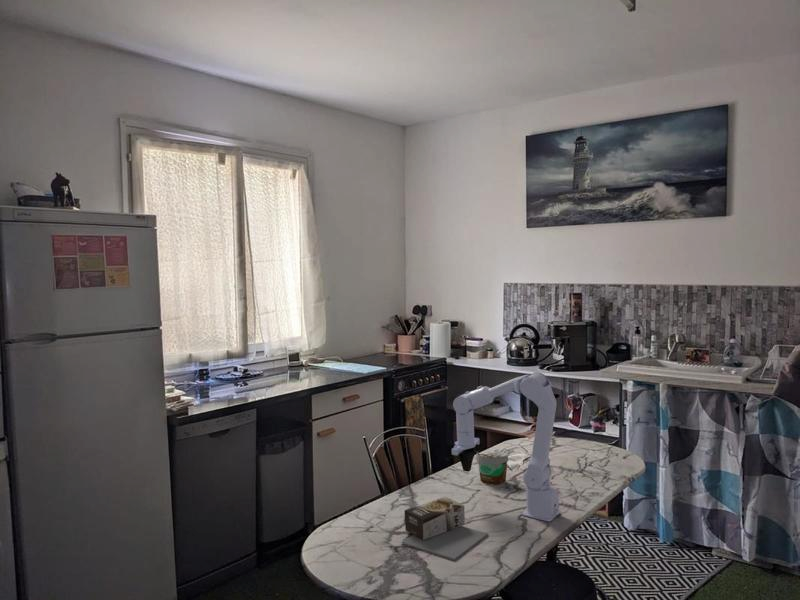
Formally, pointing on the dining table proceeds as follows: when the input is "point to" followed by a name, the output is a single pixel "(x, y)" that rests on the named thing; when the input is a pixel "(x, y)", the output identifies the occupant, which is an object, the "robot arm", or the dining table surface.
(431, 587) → the dining table surface
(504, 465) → the food container
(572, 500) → the dining table surface
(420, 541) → the mat
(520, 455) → the cloth
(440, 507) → the coffee box
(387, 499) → the dining table surface
